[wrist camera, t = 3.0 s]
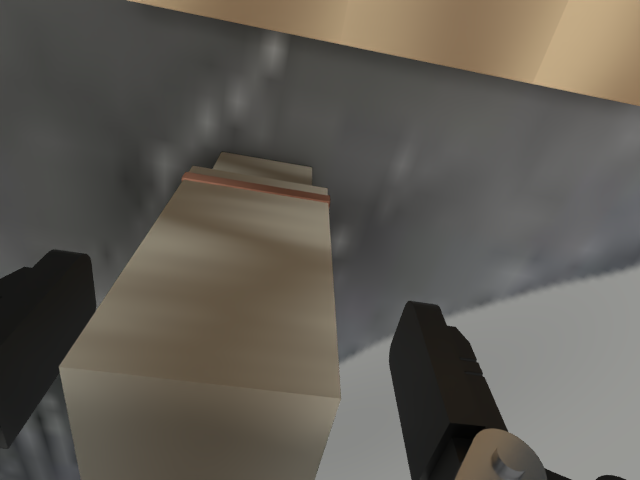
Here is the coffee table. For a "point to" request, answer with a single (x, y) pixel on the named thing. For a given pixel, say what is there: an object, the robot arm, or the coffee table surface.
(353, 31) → the oak board
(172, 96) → the coffee table surface
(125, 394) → the ash peg
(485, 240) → the coffee table surface
